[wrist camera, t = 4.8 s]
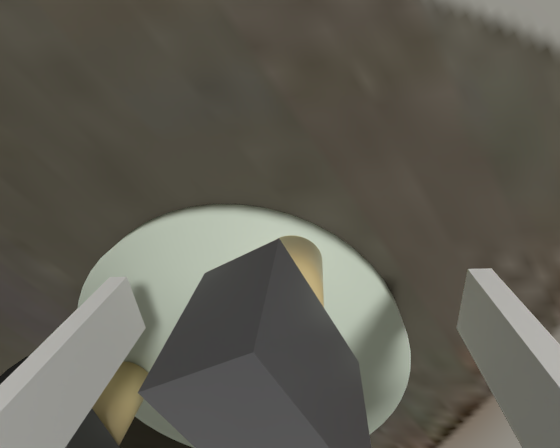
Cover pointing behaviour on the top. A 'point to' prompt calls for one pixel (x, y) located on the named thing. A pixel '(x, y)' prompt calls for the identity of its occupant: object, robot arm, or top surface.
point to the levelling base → (230, 245)
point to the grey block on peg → (260, 359)
